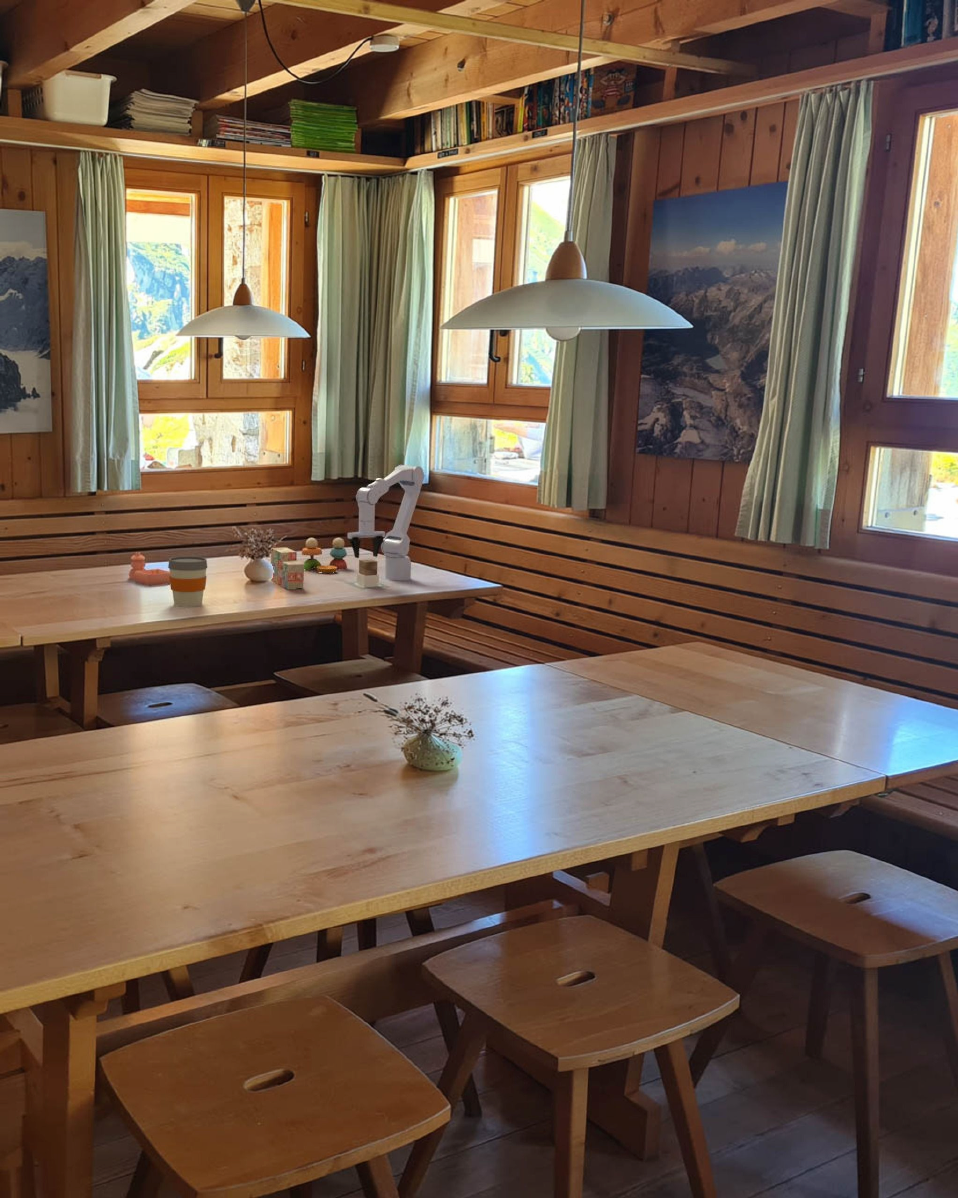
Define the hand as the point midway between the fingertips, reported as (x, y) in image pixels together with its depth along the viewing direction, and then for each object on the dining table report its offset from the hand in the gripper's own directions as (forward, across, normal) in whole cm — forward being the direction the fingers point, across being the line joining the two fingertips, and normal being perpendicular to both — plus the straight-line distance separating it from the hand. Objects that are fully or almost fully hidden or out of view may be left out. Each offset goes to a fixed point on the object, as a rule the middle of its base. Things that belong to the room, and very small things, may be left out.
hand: (366, 557), depth 437 cm
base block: (+10, +1, +3) cm, 10 cm away
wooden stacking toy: (+11, -1, -34) cm, 36 cm away
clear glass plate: (+10, +1, +3) cm, 11 cm away
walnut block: (+6, 0, +3) cm, 7 cm away
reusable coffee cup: (+10, +72, +11) cm, 73 cm away
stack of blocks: (+11, +27, -11) cm, 31 cm away
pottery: (+11, +71, -35) cm, 80 cm away
